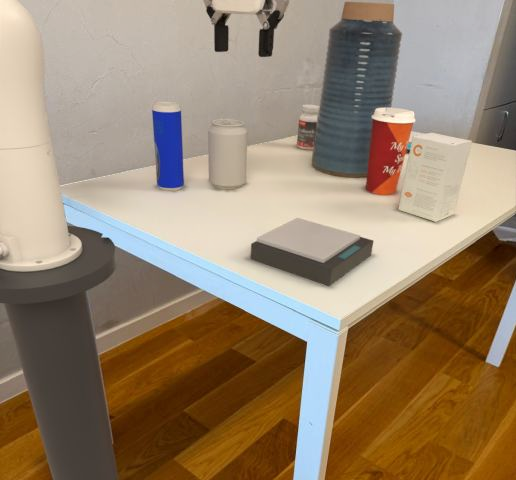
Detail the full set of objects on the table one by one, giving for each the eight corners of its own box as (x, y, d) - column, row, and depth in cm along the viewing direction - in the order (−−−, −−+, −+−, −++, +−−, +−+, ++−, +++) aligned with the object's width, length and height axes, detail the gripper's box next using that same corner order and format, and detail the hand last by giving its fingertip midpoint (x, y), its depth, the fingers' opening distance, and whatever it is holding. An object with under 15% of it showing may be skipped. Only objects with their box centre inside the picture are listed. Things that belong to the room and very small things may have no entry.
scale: (329, 286, 67) (332, 265, 65) (250, 259, 73) (251, 239, 71) (371, 255, 76) (374, 236, 74) (297, 233, 82) (299, 215, 80)
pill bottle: (293, 148, 130) (296, 106, 124) (300, 143, 134) (304, 103, 129) (314, 151, 128) (319, 108, 123) (321, 146, 132) (325, 105, 127)
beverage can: (160, 182, 101) (154, 100, 92) (185, 184, 101) (182, 102, 92) (154, 190, 96) (148, 105, 88) (181, 192, 96) (178, 106, 88)
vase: (315, 177, 109) (334, 0, 91) (307, 157, 122) (322, 0, 104) (390, 179, 109) (423, 5, 92) (373, 160, 123) (399, 5, 105)
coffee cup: (393, 199, 98) (409, 116, 90) (354, 191, 102) (366, 110, 93) (406, 189, 104) (422, 110, 96) (369, 181, 108) (381, 105, 99)
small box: (453, 215, 92) (473, 140, 85) (435, 222, 88) (454, 145, 81) (415, 203, 97) (431, 131, 90) (396, 210, 93) (411, 135, 86)
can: (220, 192, 97) (220, 126, 90) (202, 182, 102) (200, 118, 95) (253, 187, 101) (255, 123, 94) (233, 177, 106) (234, 116, 99)
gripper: (188, -74, 80) (191, 50, 90) (277, -78, 72) (270, 59, 82) (218, -68, 85) (218, 49, 95) (305, -71, 77) (295, 57, 87)
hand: (242, 54), depth 88 cm, fingers open, 9 cm apart
